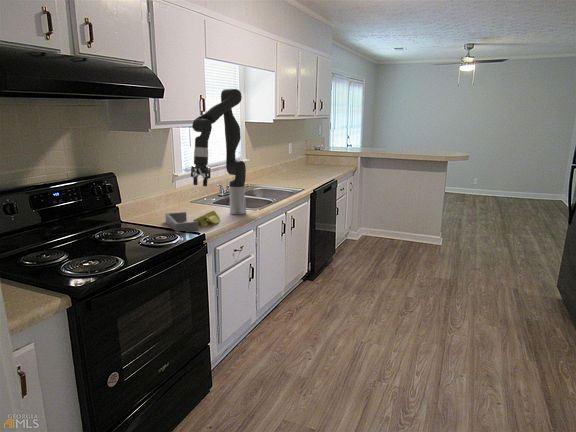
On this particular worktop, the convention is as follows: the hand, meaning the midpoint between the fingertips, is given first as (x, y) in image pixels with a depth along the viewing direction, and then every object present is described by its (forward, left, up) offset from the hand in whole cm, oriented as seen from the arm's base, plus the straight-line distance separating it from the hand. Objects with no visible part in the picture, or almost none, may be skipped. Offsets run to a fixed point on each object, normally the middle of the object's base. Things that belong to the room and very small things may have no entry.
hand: (200, 185), depth 227 cm
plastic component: (-2, +1, -22) cm, 22 cm away
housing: (+11, +1, -22) cm, 24 cm away
